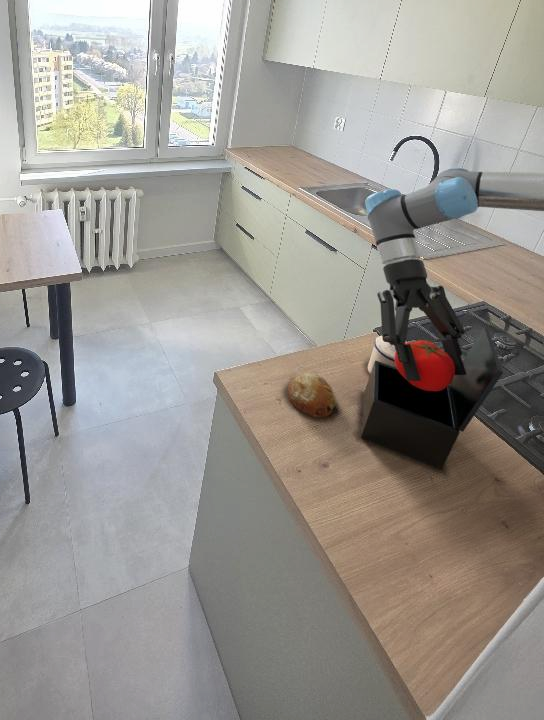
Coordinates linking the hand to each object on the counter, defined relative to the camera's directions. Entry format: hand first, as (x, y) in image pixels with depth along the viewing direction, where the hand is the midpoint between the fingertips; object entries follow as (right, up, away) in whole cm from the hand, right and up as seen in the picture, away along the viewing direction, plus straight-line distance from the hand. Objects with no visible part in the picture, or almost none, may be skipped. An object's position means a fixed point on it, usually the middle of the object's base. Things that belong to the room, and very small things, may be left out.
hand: (436, 377), depth 79 cm
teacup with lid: (+4, -9, +26) cm, 28 cm away
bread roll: (-18, -12, +17) cm, 28 cm away
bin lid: (+6, 0, -1) cm, 6 cm away
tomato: (-1, -2, +4) cm, 5 cm away
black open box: (-1, -16, +11) cm, 19 cm away
